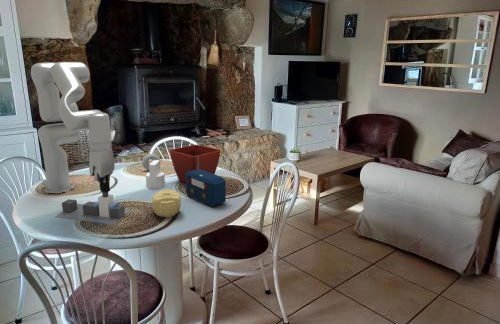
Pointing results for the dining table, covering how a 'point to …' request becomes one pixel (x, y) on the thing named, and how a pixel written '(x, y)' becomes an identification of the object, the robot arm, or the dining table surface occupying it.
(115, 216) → the grey toy block board
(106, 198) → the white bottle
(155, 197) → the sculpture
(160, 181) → the cylinder with rectangular tab
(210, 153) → the plant pot
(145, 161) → the donut
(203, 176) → the radio
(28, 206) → the dining table surface
